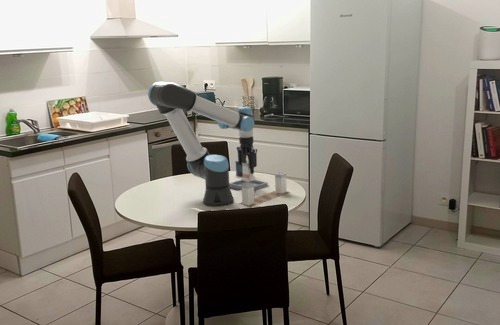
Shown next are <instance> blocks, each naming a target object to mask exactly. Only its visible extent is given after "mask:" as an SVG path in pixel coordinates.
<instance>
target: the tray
mask: <svg viewBox="0 0 500 325" xmlns="http://www.w3.org/2000/svg"><path fill="white" fill-rule="evenodd" d="M244 183H247V181H243V178H242V179H238V180H236V181H232V182H229V187H230V189H232V190H236V191H242V184H244ZM249 183H253V184H254V191H256V190H259V189H262V188H265V187H267V186H268V185H269V182H267V181H263V180H258V179H254V180H253V181H250V182H249Z"/></svg>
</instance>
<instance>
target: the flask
mask: <svg viewBox="0 0 500 325" xmlns="http://www.w3.org/2000/svg"><path fill="white" fill-rule="evenodd" d="M247 161H248V159H246V162H247ZM248 162H249V161H248ZM234 163H235V175H236V176H238V177H239V176H240V177H243V172H242V166H241V165H239V163H238V160H235V162H234Z"/></svg>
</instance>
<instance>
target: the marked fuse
mask: <svg viewBox="0 0 500 325" xmlns="http://www.w3.org/2000/svg"><path fill="white" fill-rule="evenodd" d="M242 167H243V176H242V179H243V181H247V182H250V181H253V180H255V178H254V177H255V176H254V175H253V178H254V179H252V180H249V167H250V166H249V162H248V160H247V162H244V163H242Z"/></svg>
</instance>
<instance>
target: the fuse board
mask: <svg viewBox="0 0 500 325" xmlns="http://www.w3.org/2000/svg"><path fill="white" fill-rule="evenodd" d="M290 193H291V191H287V192H285V193H283V194H280V193H276V190H274V191H271V192H268V193H266V194H263V195H260V196H257V197H254V204H251V205H249V206H248V205H245V204H243V201H241V202H239V203H238V205H242V206H245V207H249V208H251V207H254V206H257V205H259V204H260V205H261V204H262V203H265V202H267V201H270V200H273V199H276V198H279V197H281V196H284V195H288V194H290Z"/></svg>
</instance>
